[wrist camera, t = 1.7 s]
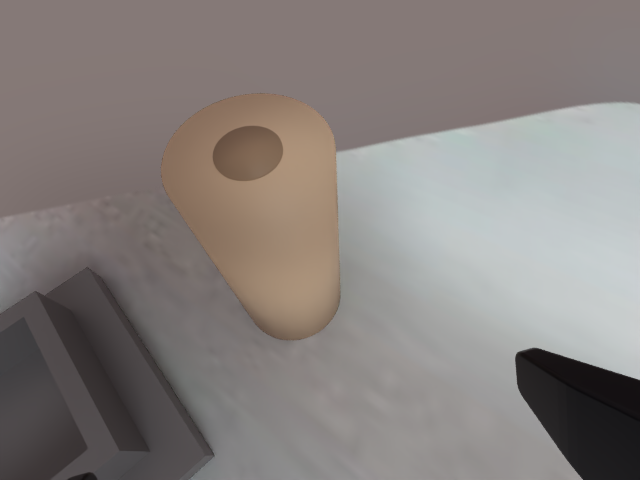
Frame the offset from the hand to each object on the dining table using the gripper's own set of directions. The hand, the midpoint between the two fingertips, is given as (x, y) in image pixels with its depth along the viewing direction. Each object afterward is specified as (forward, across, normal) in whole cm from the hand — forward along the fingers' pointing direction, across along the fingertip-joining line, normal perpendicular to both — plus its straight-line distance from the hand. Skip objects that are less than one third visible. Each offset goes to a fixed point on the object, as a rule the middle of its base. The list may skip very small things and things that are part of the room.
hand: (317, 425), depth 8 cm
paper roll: (+16, 0, +4) cm, 17 cm away
